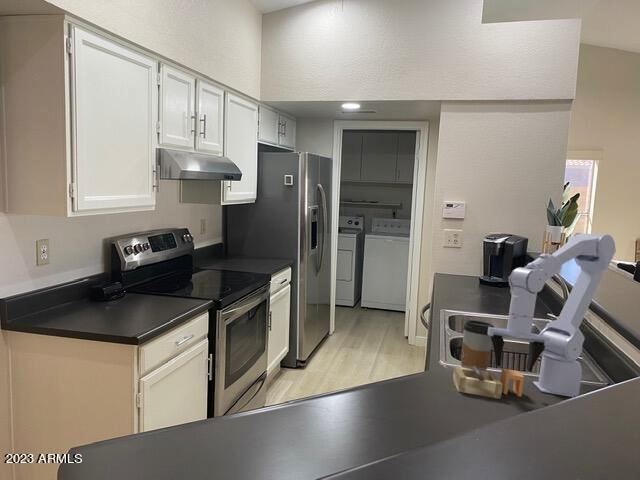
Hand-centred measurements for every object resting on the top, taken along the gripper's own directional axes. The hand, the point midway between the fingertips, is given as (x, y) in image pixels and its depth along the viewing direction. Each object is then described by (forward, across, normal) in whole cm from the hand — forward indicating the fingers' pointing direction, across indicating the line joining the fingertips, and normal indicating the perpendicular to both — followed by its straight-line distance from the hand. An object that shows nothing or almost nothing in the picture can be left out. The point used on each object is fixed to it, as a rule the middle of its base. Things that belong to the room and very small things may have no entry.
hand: (513, 367), depth 120 cm
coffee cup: (+6, -8, +8) cm, 13 cm away
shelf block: (+6, -9, -2) cm, 11 cm away
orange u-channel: (+6, 0, 0) cm, 6 cm away
